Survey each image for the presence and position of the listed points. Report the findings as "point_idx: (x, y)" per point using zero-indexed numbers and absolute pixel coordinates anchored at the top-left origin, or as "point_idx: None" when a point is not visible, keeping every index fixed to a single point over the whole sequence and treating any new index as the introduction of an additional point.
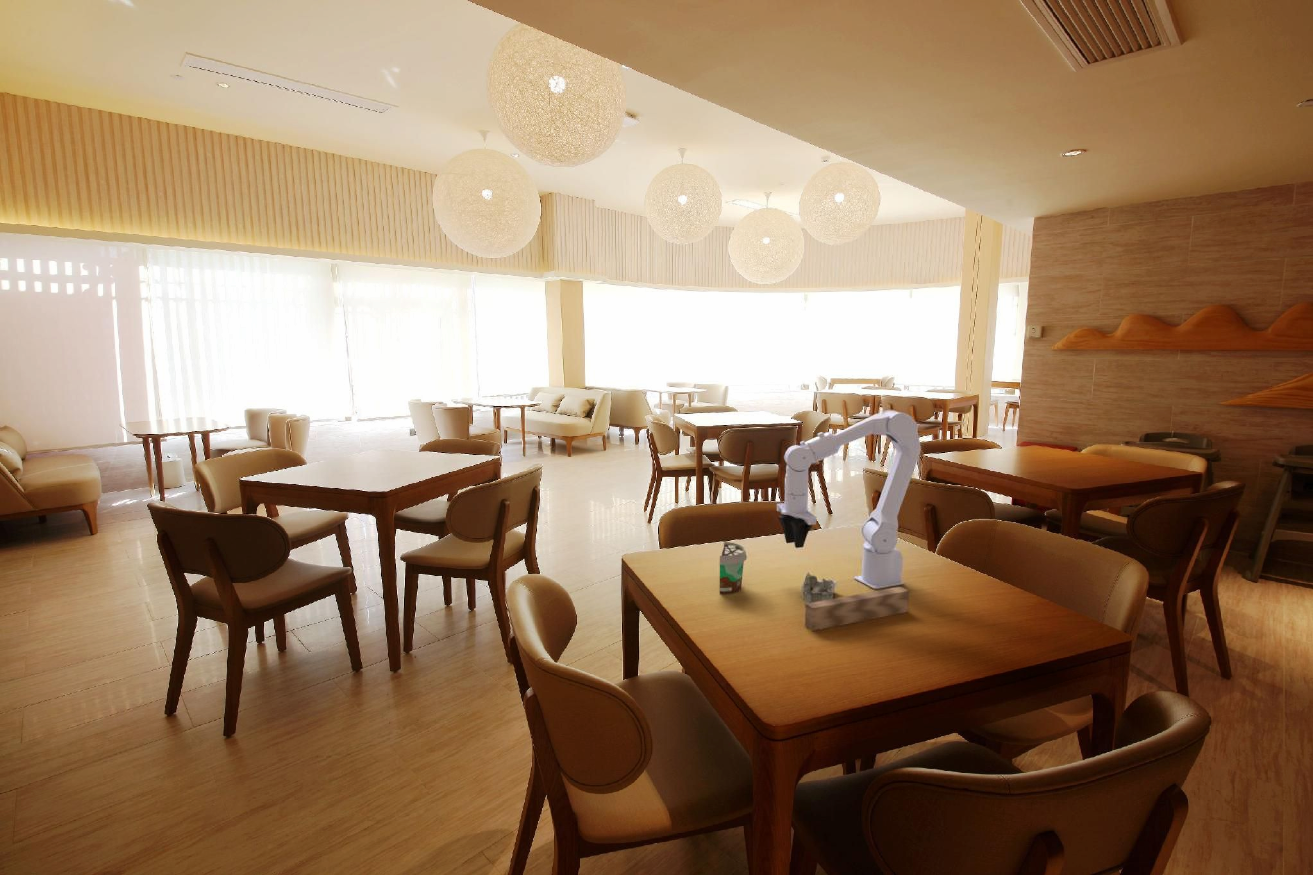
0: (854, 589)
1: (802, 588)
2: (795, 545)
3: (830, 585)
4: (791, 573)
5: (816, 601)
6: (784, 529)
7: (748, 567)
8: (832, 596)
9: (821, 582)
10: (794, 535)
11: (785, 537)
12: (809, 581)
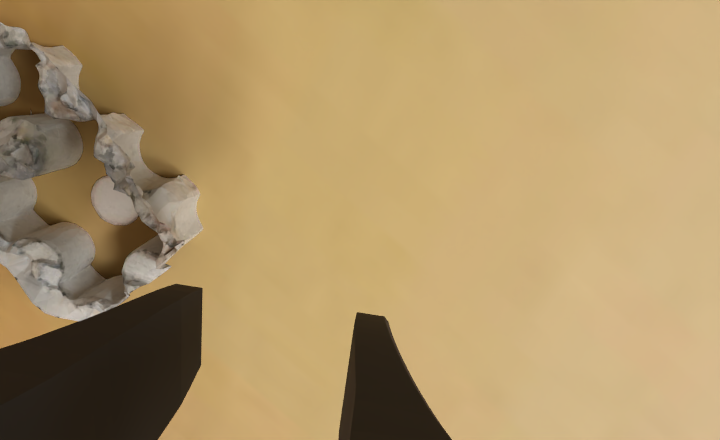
0: None
1: (59, 74)
2: (175, 290)
3: (21, 246)
4: (422, 276)
5: (14, 99)
6: (382, 409)
7: (680, 104)
8: (24, 212)
9: (125, 260)
10: (83, 346)
11: (378, 339)
12: (115, 182)
